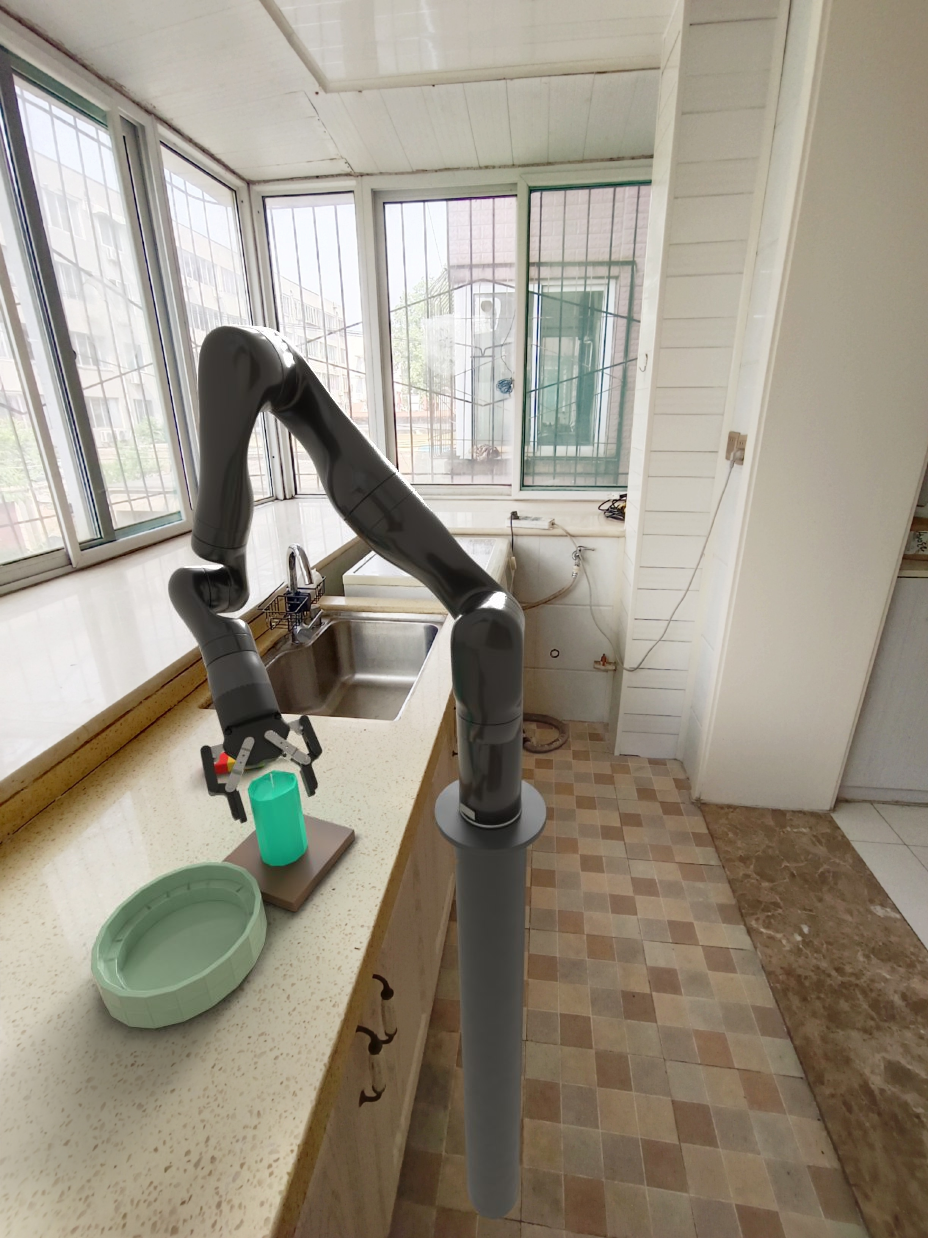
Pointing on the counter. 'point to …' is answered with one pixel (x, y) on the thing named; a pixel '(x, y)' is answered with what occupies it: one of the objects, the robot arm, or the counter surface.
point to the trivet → (294, 863)
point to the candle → (278, 817)
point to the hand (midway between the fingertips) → (279, 808)
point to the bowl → (179, 944)
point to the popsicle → (228, 763)
